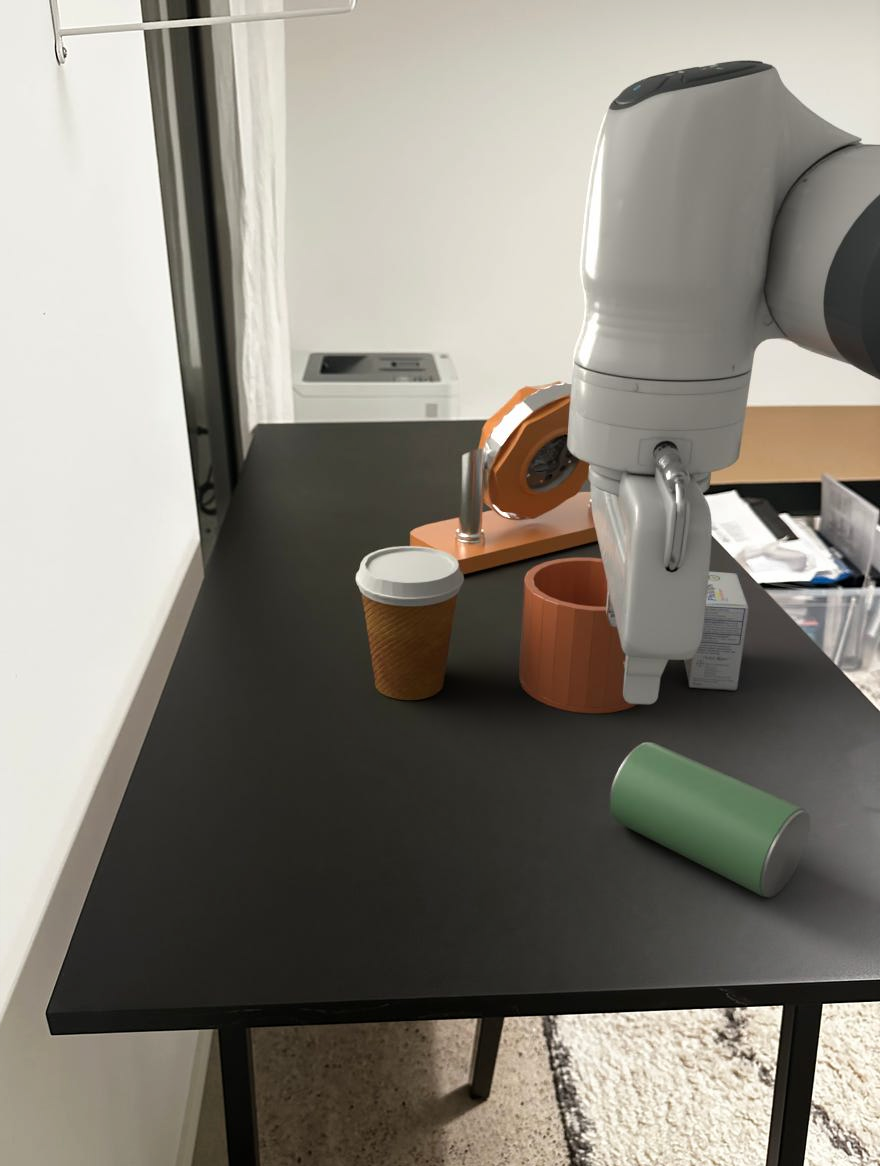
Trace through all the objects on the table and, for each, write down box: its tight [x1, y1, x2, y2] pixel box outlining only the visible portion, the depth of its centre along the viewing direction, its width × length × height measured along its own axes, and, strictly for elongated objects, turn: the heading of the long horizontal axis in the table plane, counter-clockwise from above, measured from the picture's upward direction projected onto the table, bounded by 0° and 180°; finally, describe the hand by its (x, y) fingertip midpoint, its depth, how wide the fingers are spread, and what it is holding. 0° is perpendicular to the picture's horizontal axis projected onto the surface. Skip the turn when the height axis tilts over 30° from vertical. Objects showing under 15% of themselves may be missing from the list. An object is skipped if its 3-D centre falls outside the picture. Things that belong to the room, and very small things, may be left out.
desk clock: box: [409, 380, 598, 575], centre depth 126 cm, size 12×30×20 cm, turn 122°
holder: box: [518, 557, 638, 714], centre depth 95 cm, size 12×12×10 cm
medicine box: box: [683, 571, 750, 692], centre depth 97 cm, size 8×4×9 cm, turn 171°
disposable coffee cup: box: [355, 545, 465, 701], centre depth 94 cm, size 10×10×12 cm
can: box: [608, 741, 811, 898], centre depth 72 cm, size 12×6×6 cm, turn 45°
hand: (629, 657), depth 60 cm, fingers open, 8 cm apart
